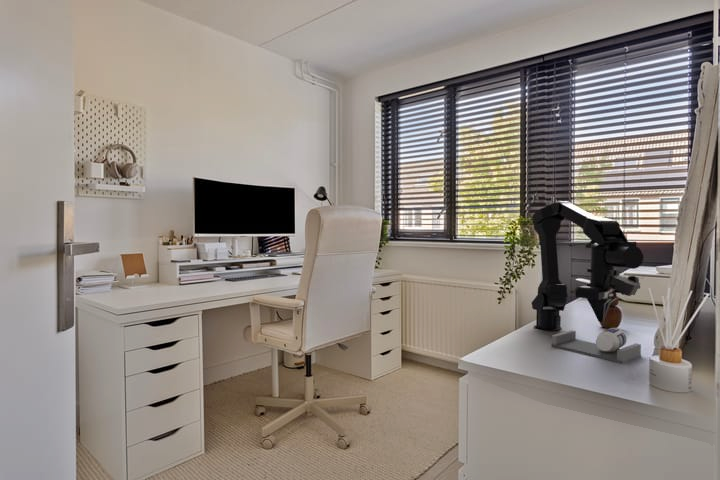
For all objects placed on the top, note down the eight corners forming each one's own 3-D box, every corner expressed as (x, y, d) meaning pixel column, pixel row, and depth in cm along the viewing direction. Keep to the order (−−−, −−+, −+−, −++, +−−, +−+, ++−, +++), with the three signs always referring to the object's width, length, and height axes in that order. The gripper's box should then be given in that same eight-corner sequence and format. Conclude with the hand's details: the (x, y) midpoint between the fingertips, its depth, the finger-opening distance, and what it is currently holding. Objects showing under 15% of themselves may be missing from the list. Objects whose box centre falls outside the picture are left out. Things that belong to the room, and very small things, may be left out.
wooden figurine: (594, 326, 139) (595, 282, 138) (605, 324, 141) (606, 281, 141) (613, 330, 133) (614, 285, 132) (624, 329, 135) (625, 284, 135)
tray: (551, 346, 114) (551, 335, 114) (571, 340, 120) (571, 330, 120) (622, 363, 99) (622, 351, 99) (640, 355, 106) (640, 344, 106)
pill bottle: (600, 337, 114) (588, 343, 108) (613, 323, 112) (601, 328, 105) (618, 351, 111) (606, 358, 104) (631, 337, 109) (620, 343, 102)
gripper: (619, 269, 99) (618, 332, 100) (650, 266, 110) (648, 323, 111) (573, 265, 108) (572, 323, 109) (606, 263, 119) (604, 315, 120)
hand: (601, 321), depth 112 cm, fingers closed
